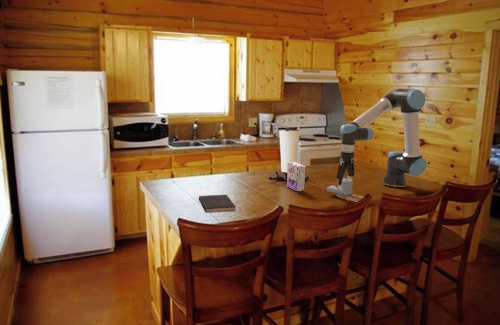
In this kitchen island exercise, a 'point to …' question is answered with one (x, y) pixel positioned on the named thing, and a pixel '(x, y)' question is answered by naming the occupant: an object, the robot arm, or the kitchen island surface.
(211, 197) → the hardcover book
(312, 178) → the kitchen island surface
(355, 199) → the frame leaf
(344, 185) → the grey l-shaped block
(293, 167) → the candy box
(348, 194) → the gray block on stand
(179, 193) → the kitchen island surface
